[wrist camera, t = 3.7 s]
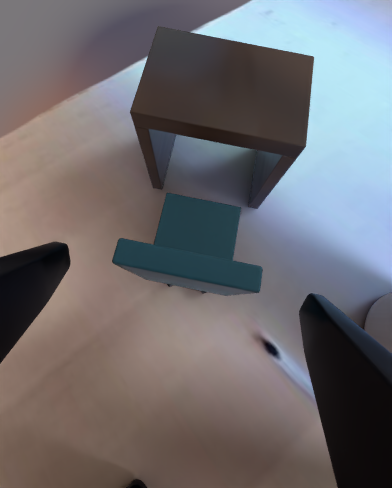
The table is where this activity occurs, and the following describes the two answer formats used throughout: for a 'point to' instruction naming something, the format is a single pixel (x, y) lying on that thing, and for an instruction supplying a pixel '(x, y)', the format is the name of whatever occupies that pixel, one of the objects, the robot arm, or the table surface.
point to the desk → (223, 102)
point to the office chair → (192, 249)
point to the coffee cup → (381, 321)
